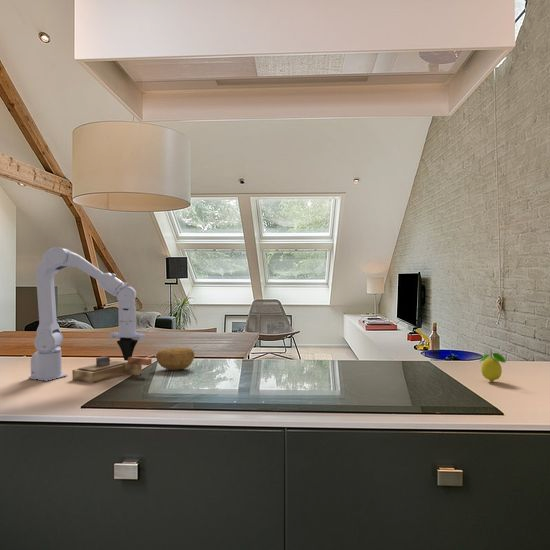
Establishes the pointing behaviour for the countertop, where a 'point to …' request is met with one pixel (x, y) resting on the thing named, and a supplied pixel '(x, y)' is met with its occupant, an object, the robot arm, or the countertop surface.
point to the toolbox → (107, 373)
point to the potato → (175, 358)
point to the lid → (101, 364)
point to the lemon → (492, 366)
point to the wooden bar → (140, 360)
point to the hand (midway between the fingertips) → (127, 359)
